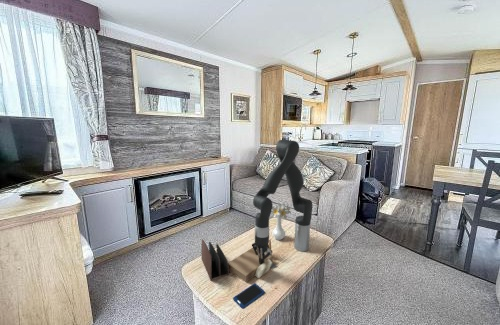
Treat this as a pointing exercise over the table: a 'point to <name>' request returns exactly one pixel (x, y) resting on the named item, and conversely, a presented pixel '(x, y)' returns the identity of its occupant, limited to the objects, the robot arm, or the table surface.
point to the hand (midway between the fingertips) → (261, 263)
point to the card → (263, 268)
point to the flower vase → (279, 220)
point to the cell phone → (248, 295)
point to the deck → (246, 265)
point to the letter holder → (214, 261)
